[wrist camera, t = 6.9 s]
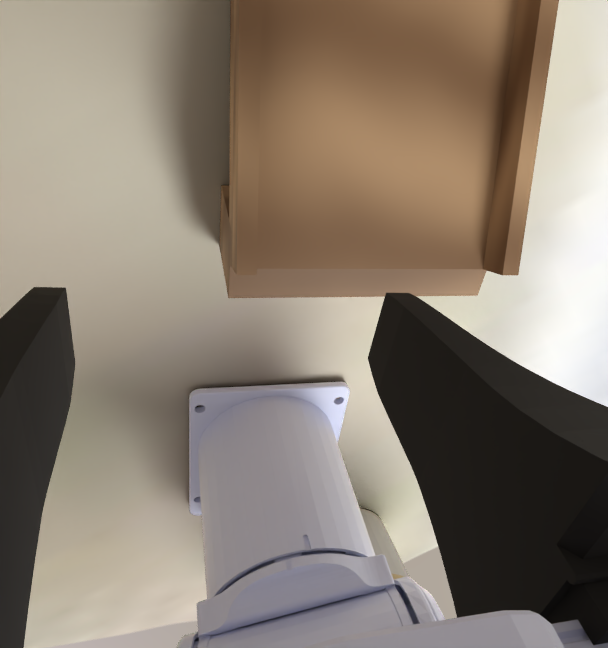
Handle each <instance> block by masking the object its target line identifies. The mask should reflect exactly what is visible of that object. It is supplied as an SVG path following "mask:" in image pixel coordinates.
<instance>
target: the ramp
mask: <svg viewBox="0 0 608 648" xmlns="http://www.w3.org/2000/svg"><path fill="white" fill-rule="evenodd" d="M558 2H559V0H231V3H230V180H229V186H225V185H221V211H220V240H219V246H220V252H221V258H222V263H223V269H224V275H225V280H226V286H227V292H228V298H275V297H374V296H385V295H386V293H410V294H412V295H414V296H473V295H478V292H479V290H480V287H481V284H482V281H483V279H484V276H485V273H486V271H490V272H494V273H497V274H500V275H518V272H519V266H520V259H521V252H522V245H523V239H524V232H525V225H526V218H527V212H528V205H529V198H530V191H531V185H532V178H533V171H534V164H535V158H536V151H537V144H538V137H539V131H540V124H541V117H542V110H543V104H544V97H545V90H546V83H547V77H548V70H549V63H550V56H551V50H552V43H553V36H554V29H555V22H556V16H557V9H558Z"/></svg>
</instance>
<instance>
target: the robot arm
mask: <svg viewBox="0 0 608 648" xmlns="http://www.w3.org/2000/svg"><path fill="white" fill-rule="evenodd" d="M368 360H369V364H370V368H371V372H372V375H373V379H374V382H375V385H376V388H377V392H378V394H379V397H380V399H381V401H382V403H383V406H384V408H385V410H386V412H387V414H388V417H389V419H390V421H391V423H392V425H393V428H394V430H395V432H396V434H397V436H398V438H399V440H400V443H401V445H402V447H403V449H404V451H405V453H406V456H407V458H408V460H409V462H410V464H411V466H412V469H413V471H414V474H415V476H416V479H417V481H418V484H419V487H420V490H421V493H422V496H423V499H424V502H425V505H426V508H427V511H428V514H429V517H430V520H431V523H432V526H433V530H434V533H435V536H436V540H437V543H438V546H439V549H440V553H441V556H442V560H443V564H444V567H445V571H446V575H447V579H448V583H449V586H450V590H451V594H452V598H453V601H454V606H455V610H456V614H457V618H453V619H446V620H445V618H444V616H443V614H442V612H441V610H440V608H439V606H438V605H437V603H436V601H435V599H434V598H433V596H432V595H431V594H430V593H429V592H428V591H427V590H426V589H424V588H423V587H421V586H420V585H418V584H417V583H416V582H415V581H414V580H413V579H411V578H410V577H402V578H398V579H394V580H393V577H392V574H391V571H390V568H389V566H388V563H387V560H386V557H385V555H383V554H381V555H376V556H375V553H374V550H373V547H372V544H371V541H370V538H369V535H368V532H367V529H366V526H365V523H364V520H363V517H362V514H361V511H360V508H359V505H358V502H357V499H356V496H355V493H354V490H353V487H352V484H351V481H350V479H349V476H348V473H347V470H346V467H345V464H344V461H343V458H342V455H341V452H340V449H339V446H338V440H339V436H340V432H341V427H342V423H343V419H344V414H345V410H346V406H347V402H348V397H349V393H350V390H349V387H348V385H347V383H345V382H323V383H303V384H283V385H263V386H243V387H223V388H203V389H196V390H194V391H192V392H191V393H190V396H189V511H190V513H191V514H192V515H202V528H203V544H204V559H205V575H206V590H207V600H204V601H200V602H198V603H197V621H198V632H195V633H191V634H188V635H185V636H183V637H182V638H181V640H180V641H179V643H178V645H177V648H608V407H606V406H604V405H601V404H599V403H596V402H594V401H592V400H589V399H587V398H585V397H583V396H580V395H578V394H576V393H574V392H571V391H569V390H567V389H565V388H563V387H561V386H559V385H556V384H554V383H552V382H550V381H549V380H547V379H545V378H543V377H541V376H539V375H537V374H535V373H533V372H531V371H530V370H528V369H526V368H524V367H522V366H521V365H519V364H517V363H515V362H514V361H512V360H510V359H509V358H507V357H506V356H504V355H502V354H501V353H499V352H497V351H496V350H494V349H493V348H491V347H489V346H488V345H486V344H485V343H483V342H482V341H480V340H479V339H477V338H476V337H474V336H473V335H471V334H470V333H469V332H467V331H466V330H464V329H463V328H461V327H460V326H458V325H457V324H456V323H454V322H453V321H451V320H450V319H448V318H447V317H446V316H444V315H443V314H441V313H440V312H438V311H437V310H436V309H434V308H433V307H431V306H430V305H428V304H427V303H425V302H424V301H422V300H421V299H419V298H417V297H416V296H414V295H412V294H410V293H386V295H385V299H384V302H383V306H382V309H381V313H380V317H379V320H378V324H377V327H376V331H375V334H374V338H373V342H372V345H371V349H370V352H369V356H368ZM74 370H75V358H74V350H73V342H72V333H71V325H70V317H69V309H68V301H67V293H66V288H50V287H34V288H33V289H31V290H30V291H29V292H28V293H27V294H26V295H25V296H24V297H23V298H22V299H20V300H19V301H18V302H17V303H16V304H15V305H14V306H13V307H12V308H11V309H10V310H9V311H8V312H7V313H6V314H5V315H4V316H3V317H2V318H1V319H0V648H23V647H24V639H25V630H26V622H27V614H28V606H29V599H30V592H31V584H32V577H33V570H34V563H35V556H36V549H37V543H38V536H39V530H40V523H41V517H42V511H43V507H44V502H45V498H46V493H47V489H48V486H49V482H50V478H51V475H52V471H53V467H54V464H55V460H56V456H57V452H58V449H59V445H60V441H61V438H62V434H63V430H64V426H65V422H66V419H67V415H68V411H69V407H70V402H71V395H72V387H73V379H74ZM338 397H340V398H339V399H336V398H338ZM198 405H203V406H202V407H196V406H198Z"/></svg>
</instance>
